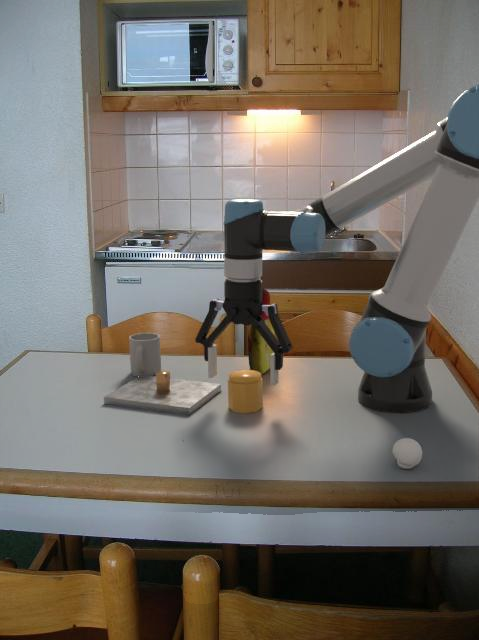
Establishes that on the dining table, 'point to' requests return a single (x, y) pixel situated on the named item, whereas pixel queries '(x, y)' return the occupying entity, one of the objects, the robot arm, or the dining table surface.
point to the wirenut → (245, 391)
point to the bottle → (260, 342)
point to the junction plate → (163, 394)
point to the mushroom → (407, 453)
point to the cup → (145, 354)
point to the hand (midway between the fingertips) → (242, 380)
